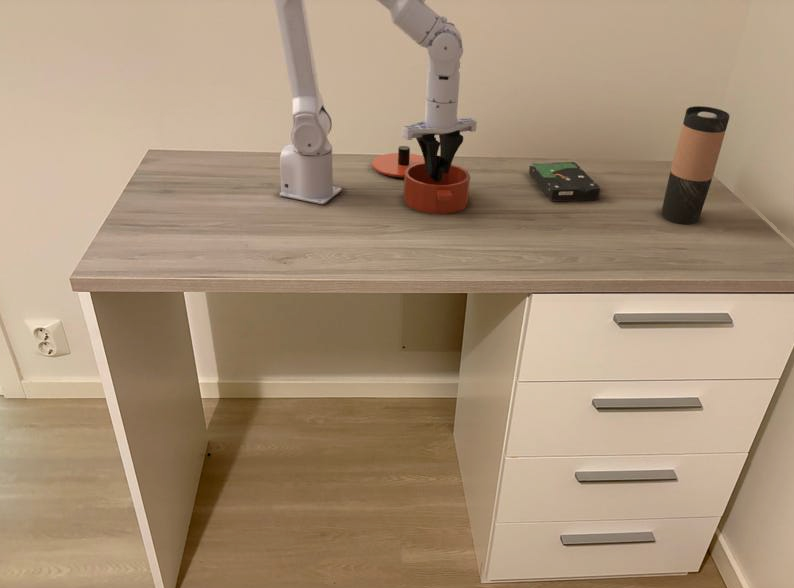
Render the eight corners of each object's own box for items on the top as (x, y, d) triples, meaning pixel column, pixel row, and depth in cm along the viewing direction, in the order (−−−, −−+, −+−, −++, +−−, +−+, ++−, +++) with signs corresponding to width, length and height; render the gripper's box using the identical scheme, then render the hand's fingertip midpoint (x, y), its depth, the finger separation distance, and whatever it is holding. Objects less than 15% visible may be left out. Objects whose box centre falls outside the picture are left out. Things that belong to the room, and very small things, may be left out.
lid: (375, 180, 147) (375, 159, 144) (369, 157, 157) (369, 137, 155) (439, 180, 149) (440, 158, 146) (428, 157, 159) (430, 137, 157)
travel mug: (706, 217, 140) (737, 113, 129) (688, 228, 136) (719, 121, 124) (671, 205, 145) (698, 103, 133) (652, 215, 140) (678, 110, 128)
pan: (411, 220, 132) (412, 192, 129) (398, 184, 146) (399, 157, 143) (476, 219, 134) (479, 191, 131) (457, 183, 148) (459, 157, 145)
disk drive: (599, 201, 145) (572, 173, 156) (602, 188, 143) (574, 160, 155) (550, 203, 142) (527, 174, 154) (552, 189, 141) (528, 161, 152)
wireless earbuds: (422, 174, 139) (422, 149, 136) (434, 172, 140) (434, 146, 137) (441, 187, 134) (441, 161, 131) (452, 185, 135) (453, 158, 132)
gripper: (464, 89, 135) (459, 160, 142) (395, 96, 128) (393, 170, 136) (485, 99, 130) (478, 172, 138) (414, 107, 123) (411, 183, 131)
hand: (437, 172), depth 137 cm, fingers closed on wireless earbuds, 2 cm apart
